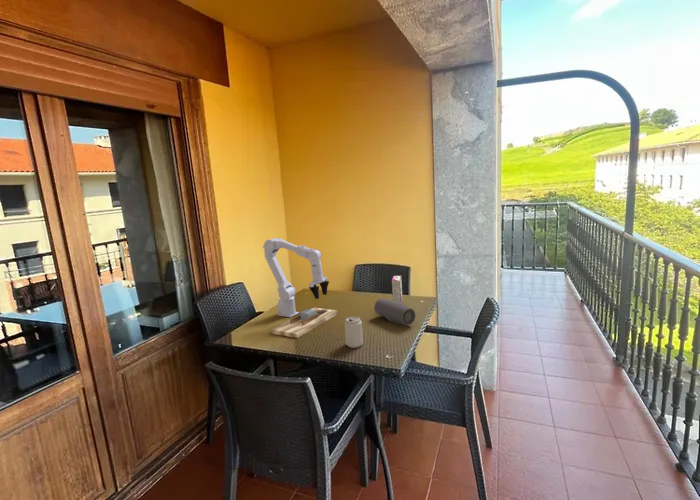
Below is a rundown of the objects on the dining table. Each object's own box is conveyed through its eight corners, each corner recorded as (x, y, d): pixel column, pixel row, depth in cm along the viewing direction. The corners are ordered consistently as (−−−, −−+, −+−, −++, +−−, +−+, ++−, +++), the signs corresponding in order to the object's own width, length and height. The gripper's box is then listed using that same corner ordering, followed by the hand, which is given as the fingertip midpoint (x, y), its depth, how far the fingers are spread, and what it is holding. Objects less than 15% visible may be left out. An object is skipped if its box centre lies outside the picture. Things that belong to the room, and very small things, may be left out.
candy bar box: (394, 302, 214) (393, 275, 211) (402, 302, 213) (401, 275, 210) (392, 308, 203) (391, 280, 201) (401, 308, 202) (400, 280, 200)
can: (345, 342, 161) (343, 316, 159) (362, 340, 162) (360, 315, 160) (346, 349, 154) (344, 322, 152) (364, 347, 154) (362, 320, 153)
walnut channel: (290, 323, 184) (290, 319, 184) (305, 315, 195) (305, 311, 195) (303, 325, 180) (303, 321, 180) (318, 317, 191) (318, 313, 191)
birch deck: (271, 333, 178) (271, 329, 177) (314, 310, 208) (313, 307, 208) (297, 338, 170) (297, 333, 169) (337, 313, 200) (337, 310, 200)
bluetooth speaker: (416, 325, 176) (416, 305, 175) (402, 329, 172) (401, 309, 170) (388, 313, 196) (387, 295, 194) (374, 317, 191) (373, 299, 189)
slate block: (300, 319, 189) (300, 312, 188) (307, 316, 194) (307, 308, 193) (308, 320, 186) (307, 313, 186) (315, 317, 191) (314, 309, 191)
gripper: (315, 275, 187) (319, 300, 189) (330, 268, 200) (334, 292, 201) (304, 275, 191) (308, 300, 193) (320, 269, 203) (323, 292, 205)
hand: (321, 296), depth 197 cm, fingers open, 7 cm apart
